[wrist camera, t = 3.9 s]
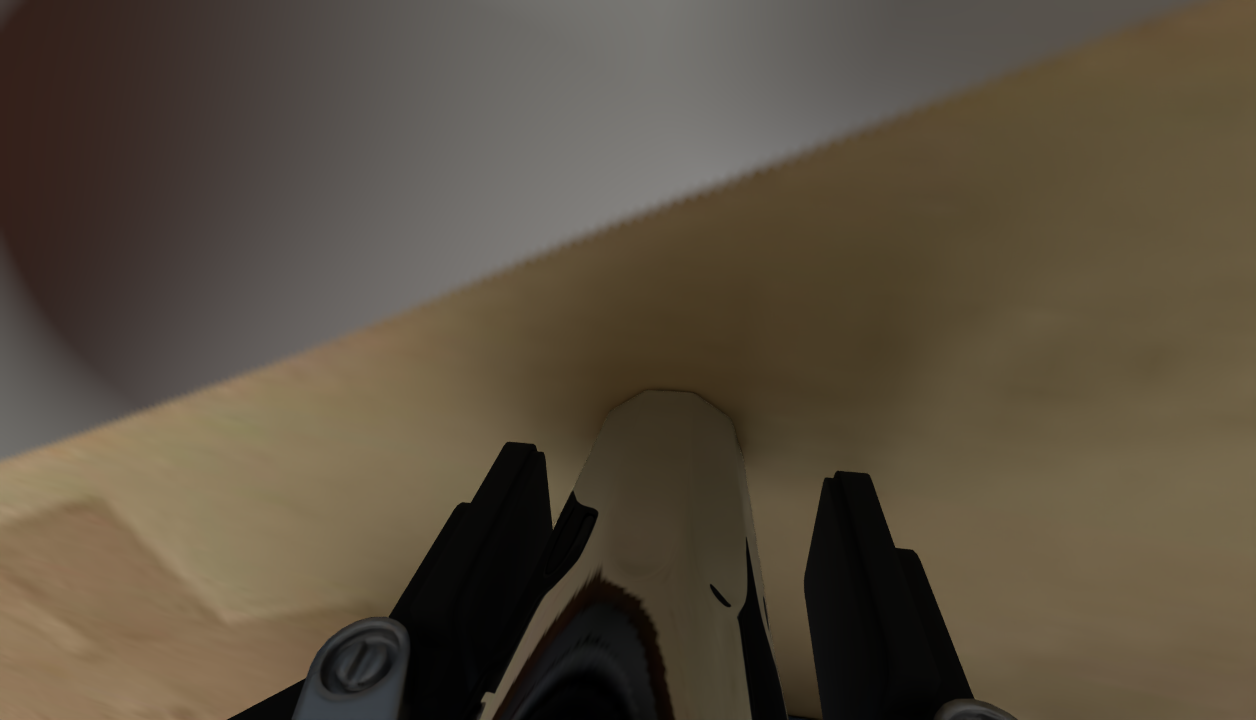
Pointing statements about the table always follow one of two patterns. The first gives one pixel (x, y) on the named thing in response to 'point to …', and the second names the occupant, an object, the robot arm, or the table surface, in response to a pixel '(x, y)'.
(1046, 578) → the table surface
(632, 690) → the milkshake
